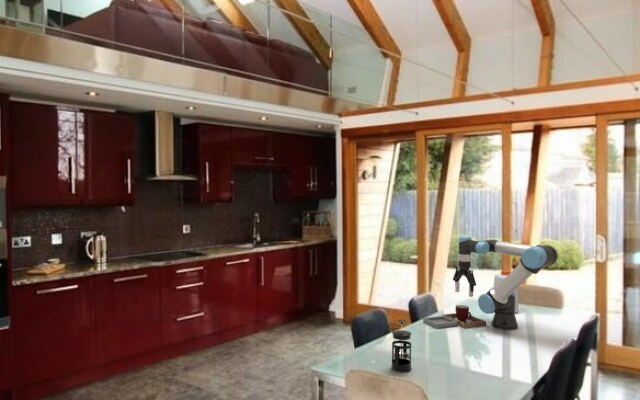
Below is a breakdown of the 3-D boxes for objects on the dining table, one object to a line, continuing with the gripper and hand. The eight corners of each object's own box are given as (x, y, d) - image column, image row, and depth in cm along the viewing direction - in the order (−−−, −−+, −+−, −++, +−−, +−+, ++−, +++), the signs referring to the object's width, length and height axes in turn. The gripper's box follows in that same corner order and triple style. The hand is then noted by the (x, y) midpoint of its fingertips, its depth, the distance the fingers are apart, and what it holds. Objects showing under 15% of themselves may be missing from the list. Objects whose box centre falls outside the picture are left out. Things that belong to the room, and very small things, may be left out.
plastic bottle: (489, 309, 353) (490, 269, 352) (510, 308, 354) (510, 269, 354) (499, 314, 338) (500, 273, 337) (521, 314, 339) (521, 272, 339)
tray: (457, 326, 307) (457, 321, 307) (436, 329, 302) (437, 324, 302) (443, 320, 321) (443, 315, 321) (423, 322, 316) (423, 318, 316)
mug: (474, 322, 316) (474, 307, 316) (468, 325, 310) (469, 309, 310) (459, 319, 323) (459, 304, 323) (453, 322, 317) (453, 306, 317)
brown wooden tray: (486, 326, 309) (486, 321, 309) (464, 328, 303) (464, 323, 303) (462, 317, 330) (462, 312, 330) (442, 319, 324) (442, 314, 324)
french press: (396, 363, 242) (396, 316, 242) (414, 367, 237) (415, 318, 237) (386, 370, 232) (387, 321, 232) (405, 374, 227) (406, 324, 227)
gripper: (447, 258, 326) (447, 290, 327) (472, 264, 303) (471, 298, 303) (457, 257, 329) (456, 289, 329) (482, 263, 305) (481, 298, 306)
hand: (463, 294), depth 316 cm, fingers open, 13 cm apart
